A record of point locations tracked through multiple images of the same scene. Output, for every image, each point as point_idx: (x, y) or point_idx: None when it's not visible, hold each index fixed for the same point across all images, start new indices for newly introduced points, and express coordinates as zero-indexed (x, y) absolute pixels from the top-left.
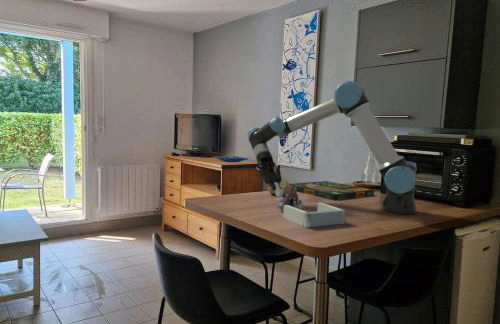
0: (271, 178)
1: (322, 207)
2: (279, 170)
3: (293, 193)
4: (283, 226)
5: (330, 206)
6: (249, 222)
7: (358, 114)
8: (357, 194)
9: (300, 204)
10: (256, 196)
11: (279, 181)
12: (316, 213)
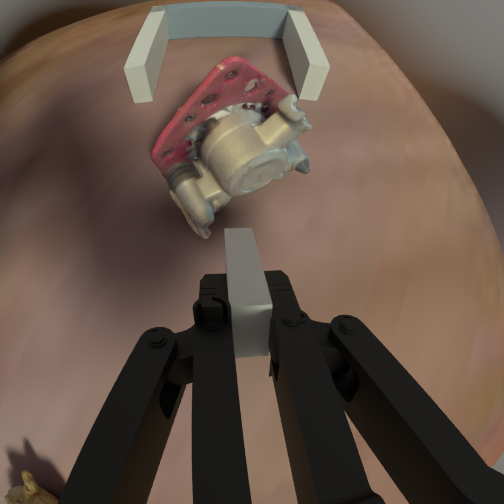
0: (309, 355)
1: (151, 56)
2: (72, 499)
3: (215, 98)
4: (348, 55)
5: (149, 31)
6: (425, 109)
7: None
8: None
9: (187, 118)
10: None
11: (176, 340)
12: (266, 3)
